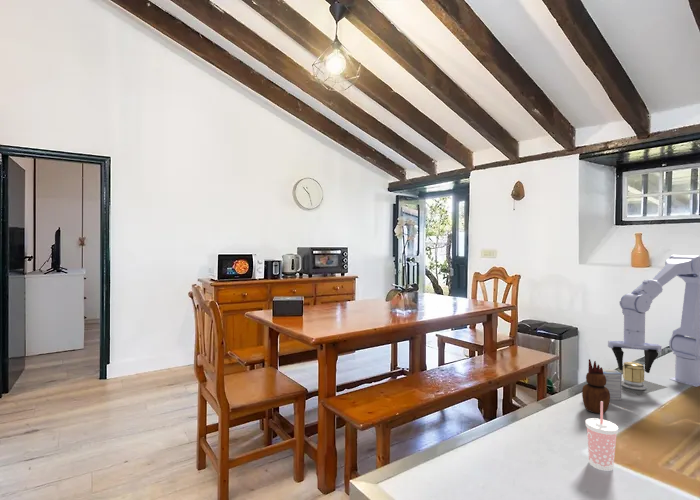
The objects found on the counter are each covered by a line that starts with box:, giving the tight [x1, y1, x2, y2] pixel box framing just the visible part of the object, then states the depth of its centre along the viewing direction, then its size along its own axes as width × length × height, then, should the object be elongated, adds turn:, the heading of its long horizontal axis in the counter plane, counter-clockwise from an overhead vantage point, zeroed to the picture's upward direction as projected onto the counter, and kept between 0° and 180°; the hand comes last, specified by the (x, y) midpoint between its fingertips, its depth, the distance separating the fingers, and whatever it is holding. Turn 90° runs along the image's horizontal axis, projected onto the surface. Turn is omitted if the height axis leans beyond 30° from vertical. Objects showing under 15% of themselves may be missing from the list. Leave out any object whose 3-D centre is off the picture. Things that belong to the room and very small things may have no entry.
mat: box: [621, 379, 667, 396], centre depth 133 cm, size 16×10×1 cm, turn 115°
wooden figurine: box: [581, 359, 611, 414], centre depth 114 cm, size 7×6×15 cm
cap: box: [622, 361, 645, 383], centre depth 132 cm, size 5×5×5 cm
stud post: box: [622, 378, 647, 391], centre depth 132 cm, size 7×7×6 cm
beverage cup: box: [584, 401, 619, 472], centre depth 87 cm, size 6×6×14 cm
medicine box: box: [587, 368, 623, 401], centre depth 124 cm, size 8×4×9 cm, turn 84°
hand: (633, 370), depth 132 cm, fingers open, 7 cm apart
